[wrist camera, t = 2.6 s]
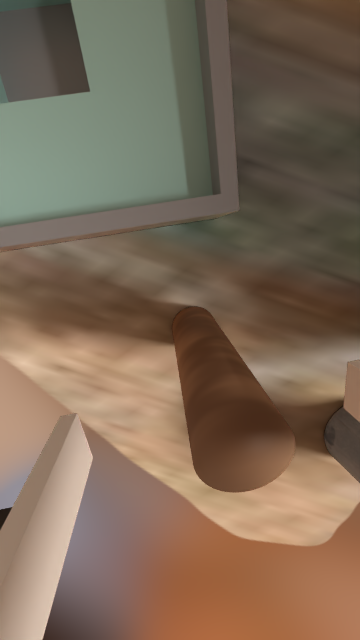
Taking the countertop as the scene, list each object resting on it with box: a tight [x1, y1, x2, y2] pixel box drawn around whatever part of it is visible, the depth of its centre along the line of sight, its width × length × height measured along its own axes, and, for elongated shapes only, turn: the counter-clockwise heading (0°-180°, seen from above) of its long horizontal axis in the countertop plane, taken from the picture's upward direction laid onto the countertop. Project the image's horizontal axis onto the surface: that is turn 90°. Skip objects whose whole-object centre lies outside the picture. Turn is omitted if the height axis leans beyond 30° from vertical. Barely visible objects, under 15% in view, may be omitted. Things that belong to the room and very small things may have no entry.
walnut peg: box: [172, 307, 295, 492], centre depth 16 cm, size 4×4×14 cm
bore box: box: [0, 0, 239, 252], centre depth 13 cm, size 20×20×6 cm
